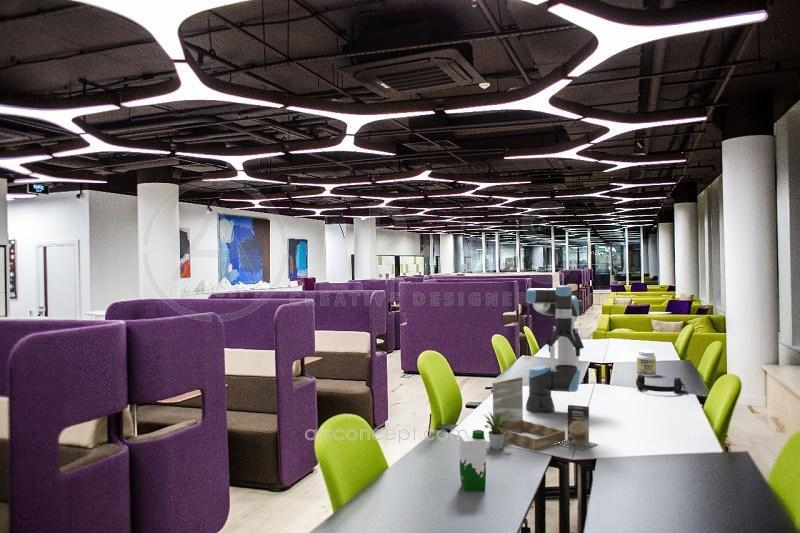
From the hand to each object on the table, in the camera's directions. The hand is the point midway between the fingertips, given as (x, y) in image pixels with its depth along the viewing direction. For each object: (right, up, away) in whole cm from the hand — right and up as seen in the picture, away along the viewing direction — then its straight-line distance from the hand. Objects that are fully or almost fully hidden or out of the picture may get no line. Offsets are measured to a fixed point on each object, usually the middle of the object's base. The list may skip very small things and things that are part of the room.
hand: (564, 361), depth 281 cm
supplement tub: (+94, -31, +126) cm, 160 cm away
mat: (-2, -32, -28) cm, 43 cm away
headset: (+82, -31, +78) cm, 117 cm away
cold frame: (-21, -32, -19) cm, 43 cm away
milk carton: (-54, -33, -75) cm, 98 cm away
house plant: (-39, -33, -30) cm, 59 cm away
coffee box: (-2, -32, -28) cm, 42 cm away
